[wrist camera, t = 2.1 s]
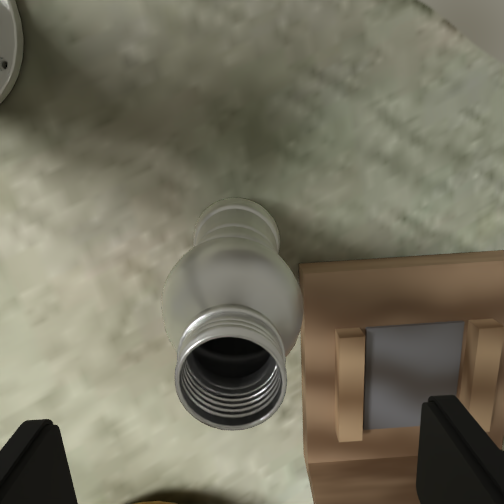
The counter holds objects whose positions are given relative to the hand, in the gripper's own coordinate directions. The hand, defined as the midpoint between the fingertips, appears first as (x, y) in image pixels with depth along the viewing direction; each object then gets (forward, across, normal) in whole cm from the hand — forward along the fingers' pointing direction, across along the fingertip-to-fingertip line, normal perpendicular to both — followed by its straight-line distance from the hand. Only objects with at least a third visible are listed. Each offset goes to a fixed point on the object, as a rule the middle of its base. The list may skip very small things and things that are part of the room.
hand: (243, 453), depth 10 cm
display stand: (+23, -13, +12) cm, 29 cm away
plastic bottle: (+23, +1, 0) cm, 23 cm away
